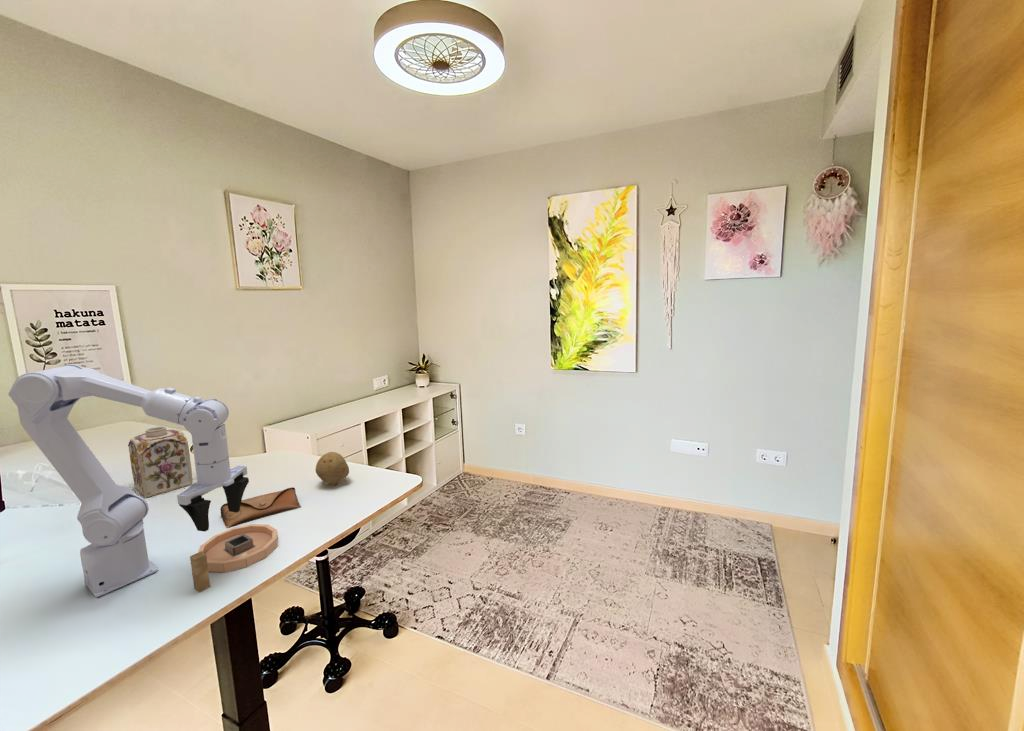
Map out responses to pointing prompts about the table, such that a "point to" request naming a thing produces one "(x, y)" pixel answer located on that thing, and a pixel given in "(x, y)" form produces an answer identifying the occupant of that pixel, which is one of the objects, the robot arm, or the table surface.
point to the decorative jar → (160, 461)
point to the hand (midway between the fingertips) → (219, 520)
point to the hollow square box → (238, 545)
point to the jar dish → (224, 562)
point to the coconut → (332, 468)
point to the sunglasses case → (260, 507)
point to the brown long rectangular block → (200, 571)
